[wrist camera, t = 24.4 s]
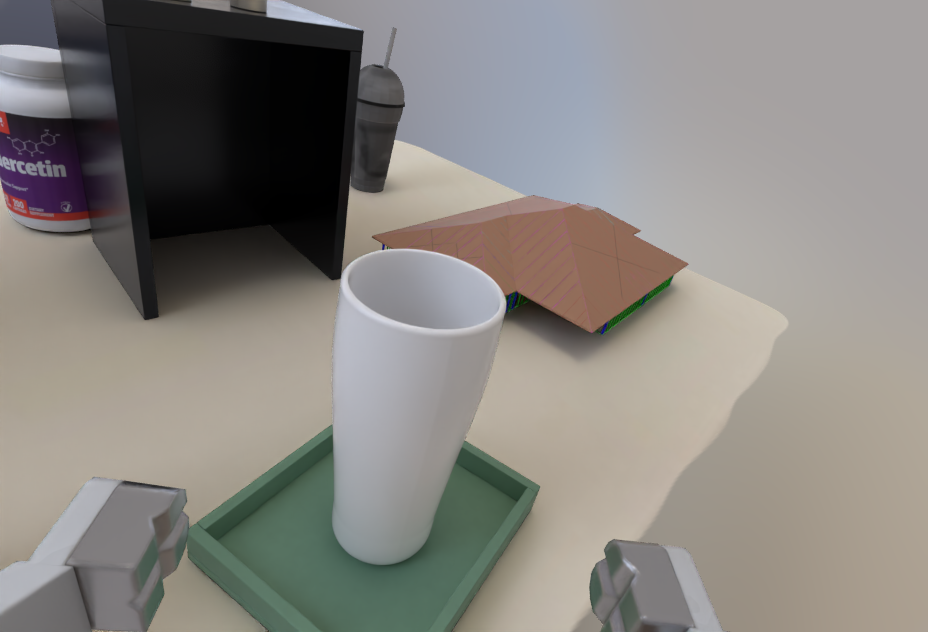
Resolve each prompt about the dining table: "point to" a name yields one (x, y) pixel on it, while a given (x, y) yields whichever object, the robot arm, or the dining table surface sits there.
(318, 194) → the black coffee maker
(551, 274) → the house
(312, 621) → the tray
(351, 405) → the drinking glass
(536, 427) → the dining table surface
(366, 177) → the beverage cup
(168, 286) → the dining table surface
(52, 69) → the pill bottle
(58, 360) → the dining table surface
